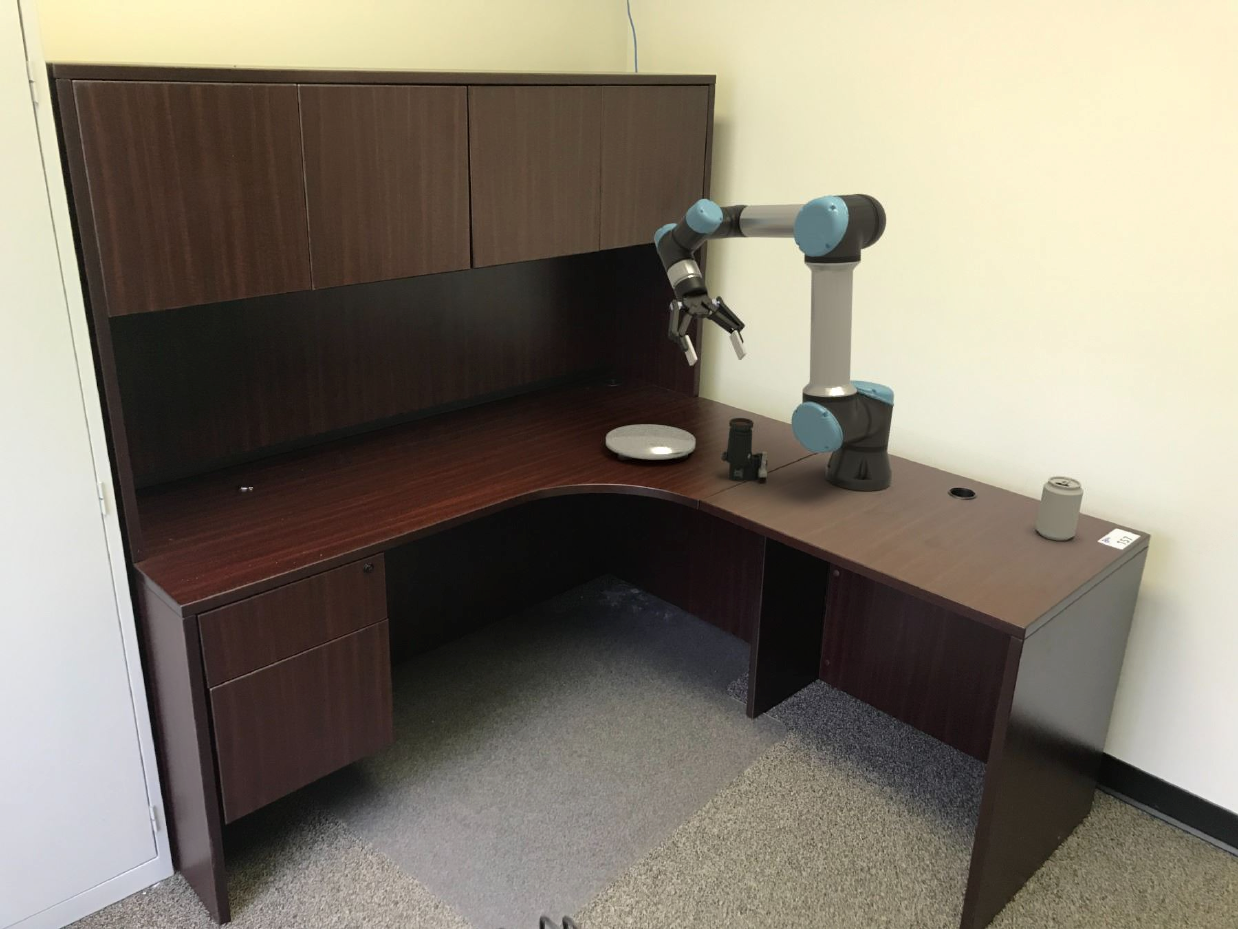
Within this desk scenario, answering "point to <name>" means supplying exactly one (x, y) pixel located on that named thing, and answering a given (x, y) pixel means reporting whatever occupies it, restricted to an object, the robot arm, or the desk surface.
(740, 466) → the scope
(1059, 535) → the can
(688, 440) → the base
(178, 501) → the desk surface
